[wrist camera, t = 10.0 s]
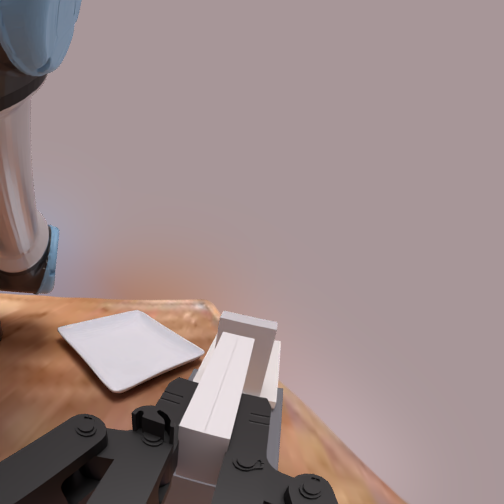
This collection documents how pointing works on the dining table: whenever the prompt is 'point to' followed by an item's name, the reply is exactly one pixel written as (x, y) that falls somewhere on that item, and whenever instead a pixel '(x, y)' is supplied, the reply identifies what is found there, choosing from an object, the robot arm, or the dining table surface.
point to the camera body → (200, 494)
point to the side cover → (262, 357)
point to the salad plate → (128, 348)
